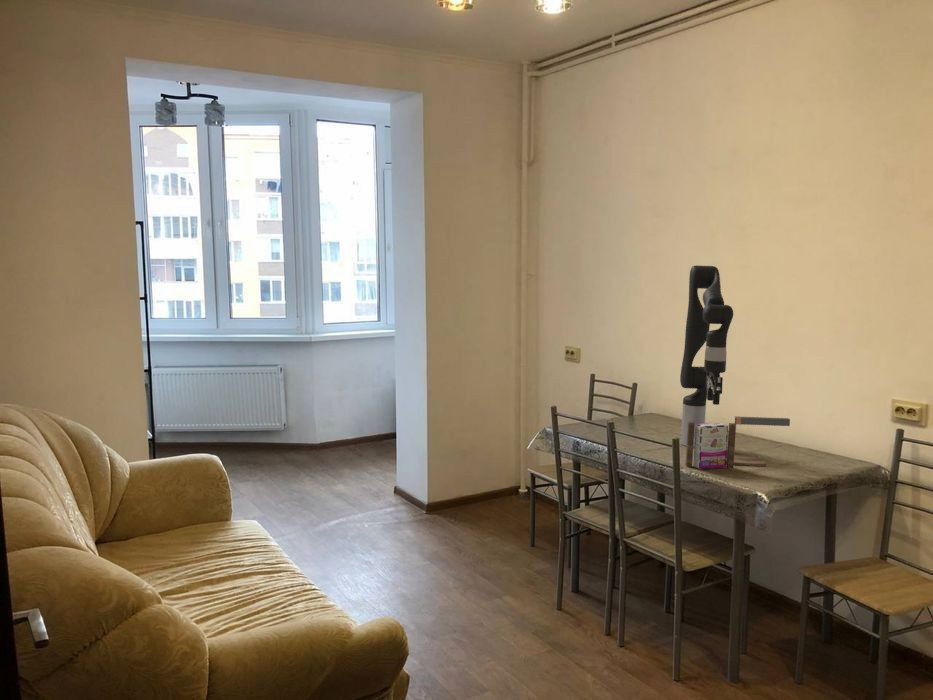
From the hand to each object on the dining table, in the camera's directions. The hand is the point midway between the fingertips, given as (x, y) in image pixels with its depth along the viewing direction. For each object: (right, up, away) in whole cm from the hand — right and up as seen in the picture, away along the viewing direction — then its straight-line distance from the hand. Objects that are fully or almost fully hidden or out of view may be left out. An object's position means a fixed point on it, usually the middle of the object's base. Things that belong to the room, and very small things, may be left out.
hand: (712, 402), depth 263 cm
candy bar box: (0, -25, +3) cm, 25 cm away
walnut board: (+15, -24, +11) cm, 30 cm away
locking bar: (+18, -8, -1) cm, 20 cm away
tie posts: (0, -25, +3) cm, 25 cm away
